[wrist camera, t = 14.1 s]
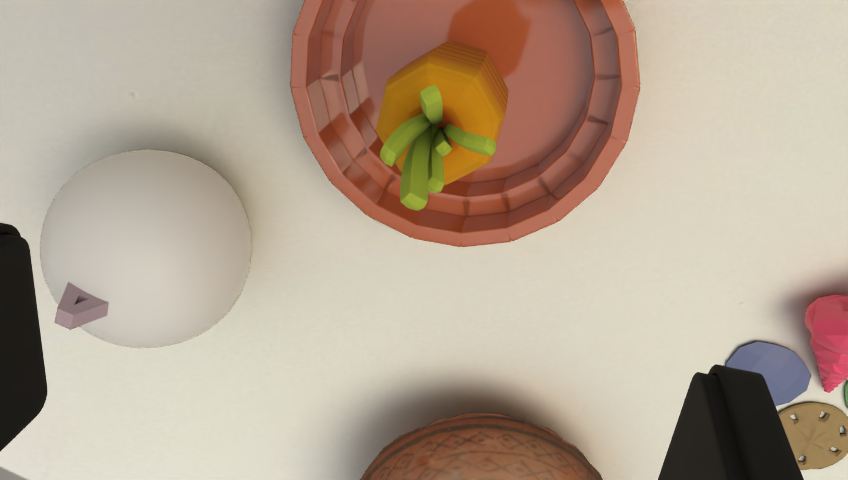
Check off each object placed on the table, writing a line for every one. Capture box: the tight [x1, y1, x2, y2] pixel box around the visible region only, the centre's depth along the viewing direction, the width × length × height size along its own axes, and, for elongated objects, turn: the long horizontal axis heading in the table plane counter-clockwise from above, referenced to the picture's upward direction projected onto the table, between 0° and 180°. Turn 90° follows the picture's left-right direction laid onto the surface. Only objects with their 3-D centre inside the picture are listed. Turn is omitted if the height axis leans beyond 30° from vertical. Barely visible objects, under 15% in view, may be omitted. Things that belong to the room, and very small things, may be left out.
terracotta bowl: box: [290, 0, 640, 247], centre depth 36 cm, size 16×16×5 cm
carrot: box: [376, 41, 508, 211], centre depth 31 cm, size 5×5×15 cm
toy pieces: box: [726, 294, 848, 470], centre depth 40 cm, size 12×11×4 cm
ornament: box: [40, 150, 252, 348], centre depth 39 cm, size 10×10×12 cm
